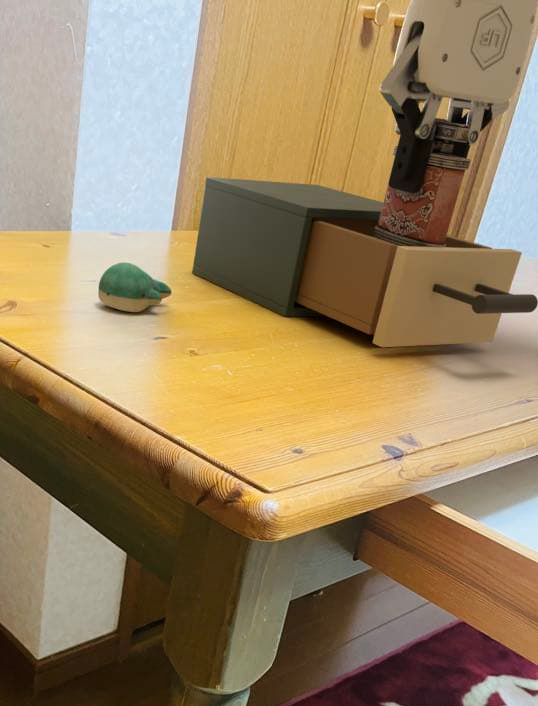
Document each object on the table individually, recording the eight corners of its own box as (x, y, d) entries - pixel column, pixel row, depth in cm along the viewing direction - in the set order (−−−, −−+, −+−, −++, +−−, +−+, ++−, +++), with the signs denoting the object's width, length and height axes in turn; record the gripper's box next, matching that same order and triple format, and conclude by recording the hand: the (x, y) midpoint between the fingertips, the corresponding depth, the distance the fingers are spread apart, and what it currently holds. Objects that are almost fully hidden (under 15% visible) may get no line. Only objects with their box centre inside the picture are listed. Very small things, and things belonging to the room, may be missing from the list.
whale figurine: (81, 301, 74) (85, 257, 72) (138, 294, 79) (143, 252, 77) (129, 319, 71) (134, 273, 69) (185, 310, 76) (191, 267, 74)
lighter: (364, 235, 76) (393, 112, 71) (394, 237, 77) (425, 116, 73) (421, 255, 70) (458, 121, 65) (452, 256, 71) (491, 126, 66)
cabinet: (399, 314, 85) (427, 213, 80) (285, 317, 78) (307, 207, 73) (298, 273, 97) (317, 184, 92) (191, 273, 90) (205, 176, 86)
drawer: (545, 363, 71) (580, 268, 67) (433, 370, 65) (464, 266, 61) (374, 296, 87) (394, 216, 83) (270, 297, 80) (287, 211, 77)
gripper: (452, -101, 56) (379, 194, 65) (605, -54, 64) (521, 204, 72) (375, -92, 61) (318, 178, 70) (524, -50, 69) (456, 189, 78)
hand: (422, 189), depth 71 cm, fingers closed on lighter, 3 cm apart
